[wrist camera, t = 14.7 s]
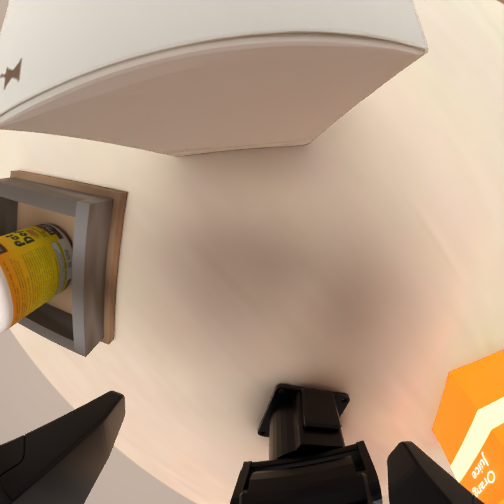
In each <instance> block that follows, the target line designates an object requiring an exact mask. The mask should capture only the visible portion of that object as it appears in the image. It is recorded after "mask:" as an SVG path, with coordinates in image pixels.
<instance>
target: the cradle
mask: <svg viewBox="0 0 504 504" xmlns="http://www.w3.org/2000/svg"><path fill="white" fill-rule="evenodd" d="M127 193H128V192H124V191H120V190H115V189H110V188H106V187H101V186H96V185H91V184H86V183H81V182H77V181H72V180H66V179H61V178H56V177H51V176H46V175H41V174H35V173H30V172H24V171H19V170H18V171H11V176H10V178H4V179H0V236H3V235H6V234H9V233H12V232H15V231H19V230H22V229H25V228H28V227H32V226H35V225H39V224H51V225H53V226H55V227H57V228H58V229H60V230H61V231H62V232H63V233H64V234H65V236H66V237H67V239H68V240H69V242H70V244H71V247H72V250H73V255H72V282H71V284H70V285H69V286H68V287H67V288H66V289H65V290H64V291H62V292H61V293H59V294H58V295H56V296H55V297H53V298H52V299H50V300H49V301H47V302H46V303H44V304H43V305H41V306H40V307H38V308H37V309H36V310H34V311H33V312H31V313H30V314H28V315H27V316H25V317H24V318H23V319H21V320H20V321H18V323H19V324H21V325H23V326H25V327H26V328H28V329H30V330H32V331H34V332H36V333H37V334H39V335H41V336H43V337H45V338H47V339H49V340H51V341H53V342H55V343H57V344H59V345H61V346H63V347H65V348H67V349H69V350H71V351H74V352H76V353H78V354H80V355H82V356H85V357H86V356H87V355H88V354H89V353H90V352H91V351H92V349H93V348H94V347H95V346H96V345H97V344H98V343H99V342H100V341H101V342H104V343H106V344H110V343H111V341H112V340H113V339H114V318H115V297H116V282H117V270H118V259H119V249H120V241H121V233H122V225H123V218H124V211H125V205H126V199H127Z"/></svg>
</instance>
